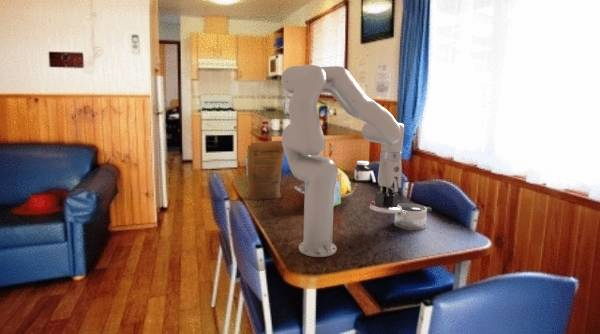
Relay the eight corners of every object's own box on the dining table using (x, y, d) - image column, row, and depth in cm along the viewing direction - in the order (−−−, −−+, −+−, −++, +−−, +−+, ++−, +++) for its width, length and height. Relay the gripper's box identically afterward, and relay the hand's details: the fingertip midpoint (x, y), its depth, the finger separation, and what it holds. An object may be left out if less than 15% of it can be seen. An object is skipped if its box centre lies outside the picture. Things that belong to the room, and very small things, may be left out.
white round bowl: (407, 213, 148) (409, 196, 147) (378, 213, 144) (380, 196, 143) (391, 204, 159) (393, 189, 158) (364, 205, 155) (366, 189, 154)
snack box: (331, 202, 194) (332, 171, 191) (341, 204, 190) (342, 172, 187) (303, 211, 178) (304, 178, 175) (313, 214, 174) (314, 180, 171)
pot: (437, 228, 159) (439, 210, 158) (398, 232, 154) (399, 212, 153) (420, 219, 170) (421, 201, 169) (383, 222, 166) (384, 204, 164)
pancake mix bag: (286, 198, 197) (287, 141, 192) (248, 202, 190) (247, 142, 185) (281, 195, 204) (282, 139, 198) (244, 198, 197) (244, 140, 191)
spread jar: (352, 179, 242) (353, 160, 240) (369, 178, 245) (370, 159, 243) (361, 184, 231) (362, 164, 229) (379, 183, 234) (380, 163, 232)
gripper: (411, 159, 142) (406, 211, 145) (389, 153, 157) (384, 199, 160) (392, 159, 140) (387, 211, 143) (371, 152, 155) (367, 199, 158)
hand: (386, 204), depth 151 cm, fingers closed on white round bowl, 2 cm apart
